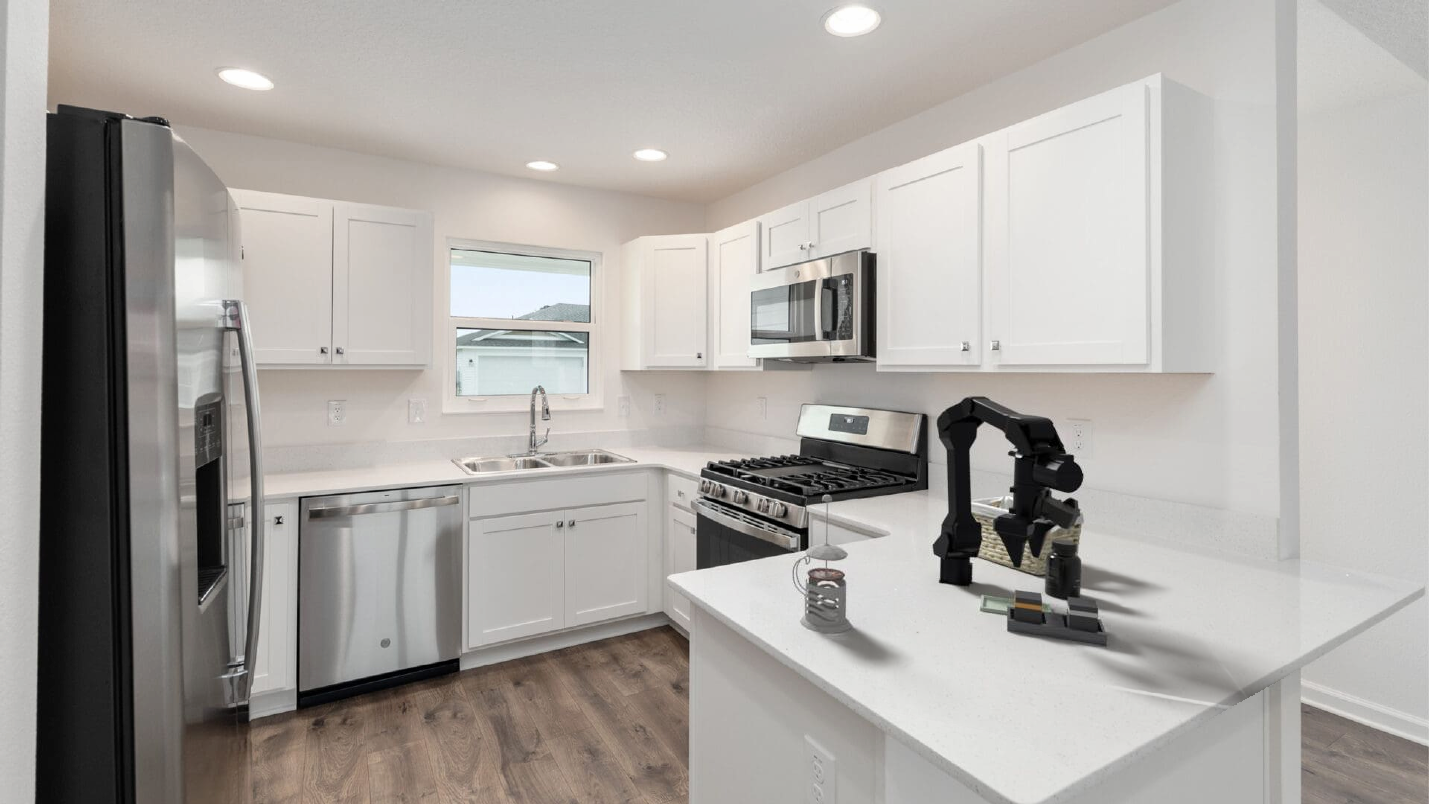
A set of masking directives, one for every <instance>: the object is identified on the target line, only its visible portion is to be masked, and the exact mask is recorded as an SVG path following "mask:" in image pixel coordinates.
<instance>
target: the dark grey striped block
mask: <svg viewBox="0 0 1429 804" xmlns="http://www.w3.org/2000/svg"><path fill="white" fill-rule="evenodd" d="M1014 599H1015V614H1014V620H1021V621H1028V622H1035V623H1041V622H1042V603H1043V598H1042V593H1041V592H1036V591H1035V592H1034V591H1027V590H1026V591H1025V590H1018V589H1015V590H1014Z"/></svg>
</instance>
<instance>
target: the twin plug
mask: <svg viewBox="0 0 1429 804" xmlns="http://www.w3.org/2000/svg"><path fill="white" fill-rule="evenodd" d="M1066 614H1067V627H1069V628H1076V629H1083V630H1089V631H1096V632H1097V630H1098V619H1099V607H1098V604H1097V601H1096V600H1095V599H1087V598H1081V597H1080V598H1074V597H1068V600H1066Z"/></svg>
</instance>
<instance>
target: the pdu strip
mask: <svg viewBox="0 0 1429 804" xmlns="http://www.w3.org/2000/svg"><path fill="white" fill-rule="evenodd" d="M1014 614H1015V607H1009V606H1007V615H1006V631H1007V632H1010V633H1016V634H1017V633H1018V634H1021V635H1023V634H1024V635H1030V636H1036V637H1042V638H1043V637H1044V638H1049V639H1056V640H1062V641H1069V642H1076V643H1082V644H1087V645H1096V646H1102V647H1107V643H1108V642H1107V641H1108V634H1107V632H1106V630H1105V626H1104V624H1103V622H1102V619H1100V618H1098V630H1097V632H1096V631H1089V630H1083V629H1076V628H1069V627H1067V613H1066V614H1065V613H1059V612H1052V611H1051V612H1045V611H1042V622H1041V623H1035V622H1028V621H1021V620H1014Z"/></svg>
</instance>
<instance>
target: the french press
mask: <svg viewBox="0 0 1429 804" xmlns="http://www.w3.org/2000/svg"><path fill="white" fill-rule="evenodd" d="M821 500H822V502H826V520H825V521H826V522H825V524H826V527H825V528H826V529H825V530H826V531H825V532H826V534H825V541H826V542H825V543H819V544H815V545H813V546H811V547H809V548H807V549H806V550H805V552H804V553H805V554H806V555H804V556H802V557H801V558H799V559H798V560H797V561H795V563H794V565H793V567H792V571H791V572H792V580H793V584H794V587H795V588H796V589H797V591H798V592H799V593H801V594H802V596H804V615H803V616H802V617H801V618H800V620H799V623H800V625H801V626H802V627H804V628H806V629H807V630H810V631H812V632H817V633H825V634H829V633H830V634H836V633H841V632H845V631H847V630H850V629H851V626H852V623H851V622H850V620H849V619H848V618H847V615H846V614H847V609H846V608H847V581H846V579H844V577H845V576H846V574H845V573H844V571H842V570H839V569H835V568H831V567H830V568H829V567H827V566H828V561H829V562H835V561H842V560H845V559H847V557H848V556H849V553H848V552H847V551H846V550H845V549H843V548H842V547H840V546H837V545H836V544H831V543H828V514H829V513H828V511H829V510H828V508H829V502H830V503H831V502H833V497H832V496H831V495H830V494H824V495H823V496H822V499H821ZM807 558H808V559H807ZM811 559H813V560H814V559H815V560H819V561H825V567H816V568H811V569H809V570H808V571H807V575H808V579H807V578H806V579H805V588H804V586H803V585H802V584H801V582H800V580H799V576H798V567H799V565H800V563H801V561H803V560H804V561H805V565H809V563H811ZM795 576H796V580H797V583H798V585H799V586H800V587H801V589H803V591H805V593H804V592H803V591H802V590H800V589H799V587H798V586H797V583H796V581H795ZM821 582H833V583H835V584H836V585H837V587H836V585H833V584H831V583H822V584H819V583H821ZM819 596H821V597H819ZM827 600H829V601H832V602H829V601H827Z"/></svg>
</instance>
